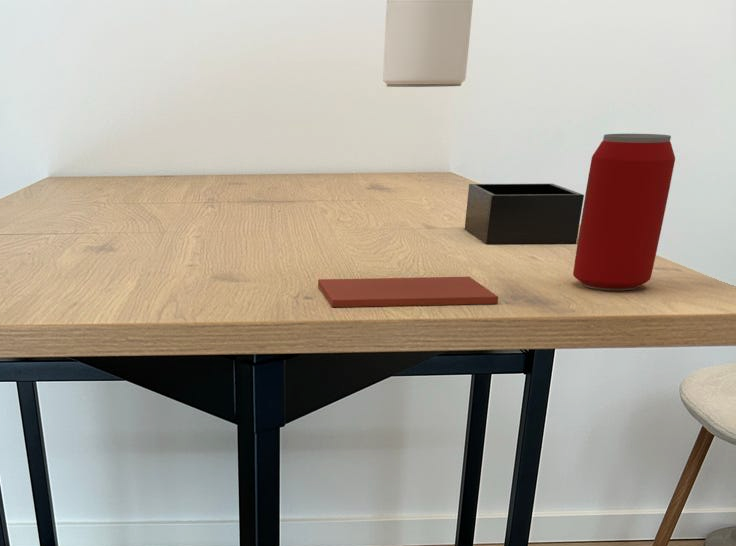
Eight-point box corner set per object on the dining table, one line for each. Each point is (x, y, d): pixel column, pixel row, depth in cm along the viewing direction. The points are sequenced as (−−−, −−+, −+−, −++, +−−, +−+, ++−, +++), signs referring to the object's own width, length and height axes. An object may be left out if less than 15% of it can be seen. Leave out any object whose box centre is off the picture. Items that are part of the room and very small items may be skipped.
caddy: (576, 243, 105) (584, 194, 103) (486, 244, 105) (491, 195, 103) (546, 228, 116) (553, 183, 113) (464, 228, 116) (469, 184, 113)
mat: (468, 283, 86) (469, 276, 86) (497, 304, 78) (498, 296, 78) (317, 286, 85) (318, 279, 85) (332, 307, 77) (332, 299, 77)
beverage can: (623, 277, 88) (650, 132, 82) (664, 290, 82) (697, 136, 76) (557, 280, 87) (580, 133, 81) (594, 294, 81) (622, 138, 75)
